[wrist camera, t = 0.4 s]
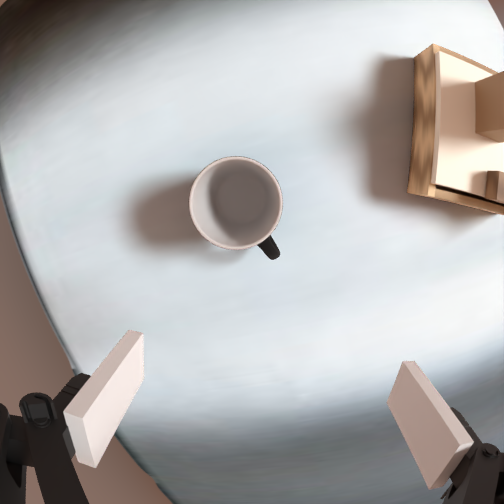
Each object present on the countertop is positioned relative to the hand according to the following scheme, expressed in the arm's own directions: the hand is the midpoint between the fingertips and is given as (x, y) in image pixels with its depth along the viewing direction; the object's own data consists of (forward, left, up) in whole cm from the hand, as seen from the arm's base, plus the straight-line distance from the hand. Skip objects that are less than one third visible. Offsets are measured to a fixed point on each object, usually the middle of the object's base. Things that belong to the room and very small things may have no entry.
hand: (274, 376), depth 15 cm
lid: (-20, +26, -21) cm, 39 cm away
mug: (-5, -3, -28) cm, 28 cm away
